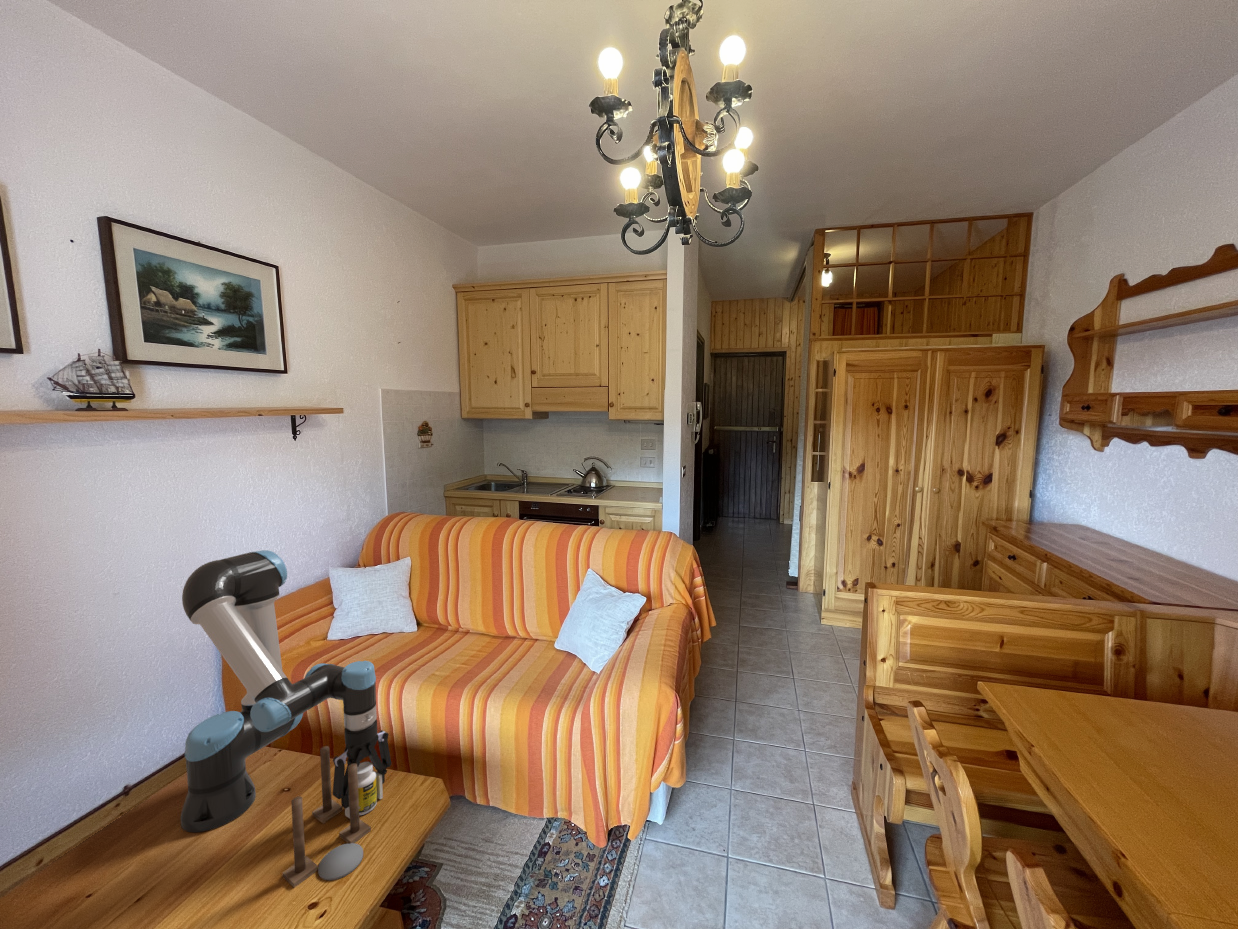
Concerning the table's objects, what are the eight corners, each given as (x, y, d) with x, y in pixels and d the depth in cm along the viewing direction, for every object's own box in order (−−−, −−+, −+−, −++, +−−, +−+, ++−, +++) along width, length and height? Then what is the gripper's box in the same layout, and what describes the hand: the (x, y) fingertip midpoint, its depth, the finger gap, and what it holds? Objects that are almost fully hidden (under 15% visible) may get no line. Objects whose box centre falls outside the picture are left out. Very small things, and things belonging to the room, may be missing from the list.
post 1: (282, 877, 108) (278, 802, 106) (306, 859, 112) (303, 788, 111) (294, 888, 105) (290, 812, 104) (318, 870, 109) (314, 796, 108)
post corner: (339, 836, 118) (336, 768, 117) (359, 822, 123) (356, 756, 121) (351, 845, 116) (348, 776, 114) (370, 830, 120) (368, 763, 119)
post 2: (312, 815, 125) (309, 750, 124) (332, 802, 129) (329, 740, 128) (322, 823, 122) (319, 757, 121) (342, 810, 126) (339, 746, 125)
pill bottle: (366, 818, 124) (364, 777, 123) (345, 814, 125) (343, 774, 124) (382, 800, 130) (380, 761, 129) (362, 796, 131) (360, 758, 130)
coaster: (310, 868, 110) (310, 865, 110) (349, 839, 117) (349, 837, 117) (331, 887, 105) (331, 885, 105) (371, 856, 113) (371, 854, 113)
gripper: (329, 749, 115) (333, 840, 117) (404, 708, 132) (407, 787, 134) (312, 739, 119) (316, 827, 121) (387, 700, 136) (390, 777, 138)
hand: (364, 806), depth 127 cm, fingers open, 7 cm apart
